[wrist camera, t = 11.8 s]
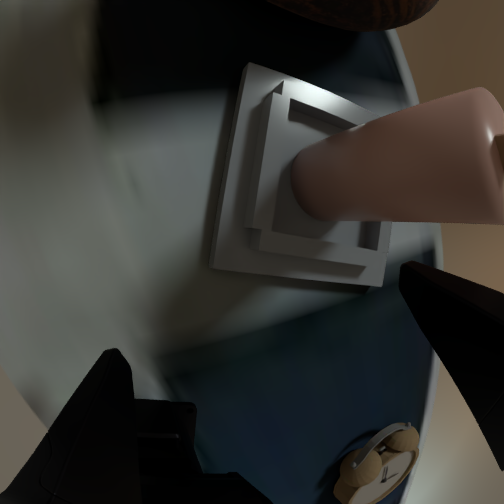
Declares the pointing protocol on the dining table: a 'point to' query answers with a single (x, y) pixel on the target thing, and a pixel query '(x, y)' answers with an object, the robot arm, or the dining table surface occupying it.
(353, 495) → the alarm clock
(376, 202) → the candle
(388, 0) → the jug
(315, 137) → the dish
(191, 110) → the dining table surface
